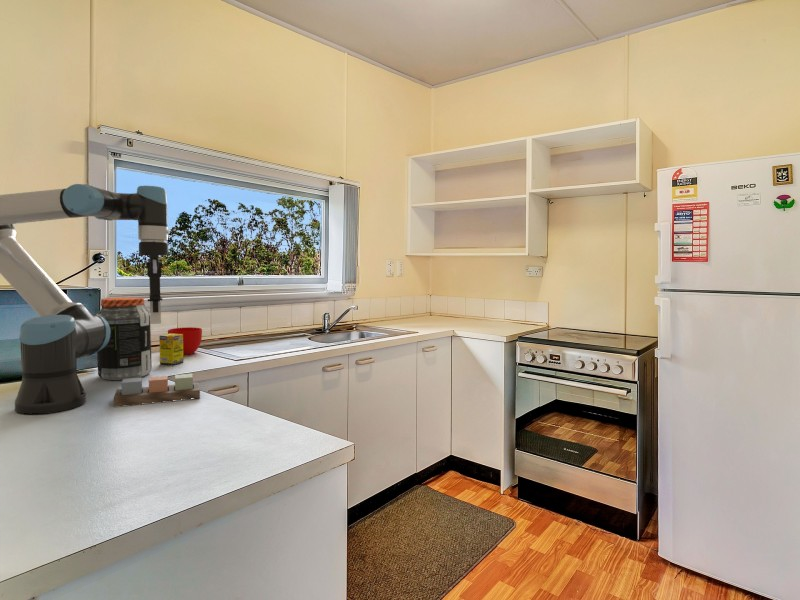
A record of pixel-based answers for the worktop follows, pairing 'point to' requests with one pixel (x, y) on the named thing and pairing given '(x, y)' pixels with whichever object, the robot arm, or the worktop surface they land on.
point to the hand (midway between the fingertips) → (155, 323)
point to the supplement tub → (125, 339)
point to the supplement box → (171, 349)
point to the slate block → (131, 386)
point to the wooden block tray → (156, 395)
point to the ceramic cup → (189, 338)
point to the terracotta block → (158, 384)
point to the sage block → (183, 382)
